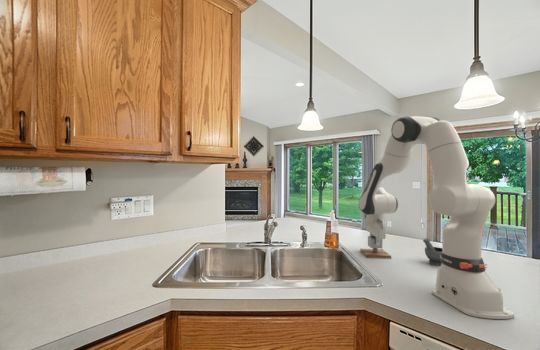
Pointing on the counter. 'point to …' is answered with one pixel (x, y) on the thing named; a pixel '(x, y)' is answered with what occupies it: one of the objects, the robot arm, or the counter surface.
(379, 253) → the post block
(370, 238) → the square sleeve
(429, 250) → the mortar and pestle
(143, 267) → the counter surface
